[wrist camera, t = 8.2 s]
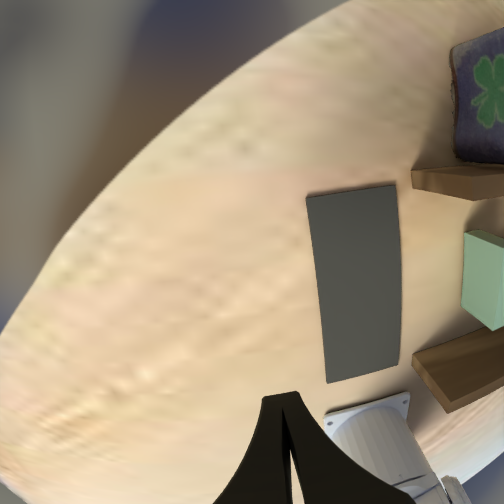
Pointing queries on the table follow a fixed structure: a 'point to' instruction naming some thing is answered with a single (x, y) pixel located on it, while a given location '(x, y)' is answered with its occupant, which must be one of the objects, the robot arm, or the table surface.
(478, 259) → the teal block
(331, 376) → the mat
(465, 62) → the flask
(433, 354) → the tunnel
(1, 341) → the table surface
